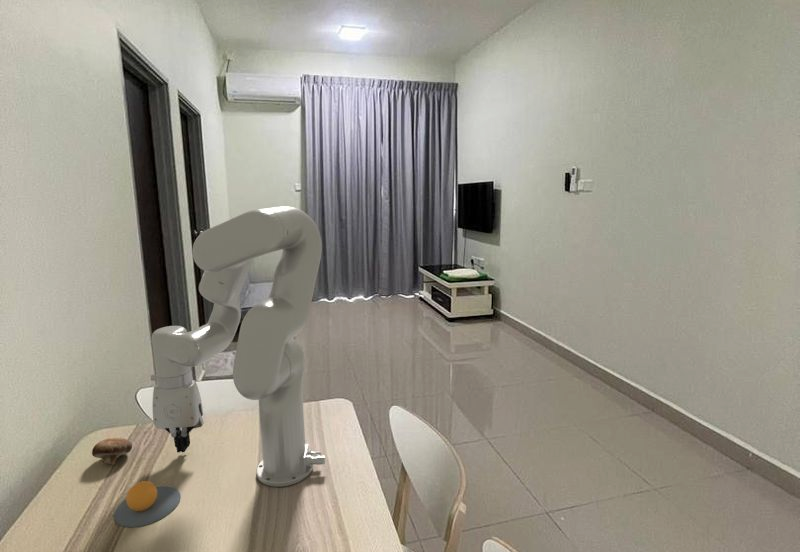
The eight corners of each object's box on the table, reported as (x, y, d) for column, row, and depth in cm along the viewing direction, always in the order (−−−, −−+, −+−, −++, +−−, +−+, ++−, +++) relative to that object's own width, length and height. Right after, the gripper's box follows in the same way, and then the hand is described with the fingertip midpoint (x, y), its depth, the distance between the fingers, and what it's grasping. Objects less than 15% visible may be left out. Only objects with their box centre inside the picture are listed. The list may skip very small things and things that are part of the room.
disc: (189, 485, 100) (189, 484, 100) (165, 525, 88) (165, 524, 88) (133, 487, 99) (133, 487, 99) (101, 528, 87) (100, 527, 87)
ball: (161, 475, 95) (147, 488, 90) (163, 501, 95) (149, 515, 90) (135, 477, 95) (119, 490, 90) (137, 503, 95) (121, 517, 90)
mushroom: (108, 463, 103) (108, 434, 105) (82, 471, 105) (84, 443, 107) (139, 461, 110) (139, 434, 112) (114, 468, 112) (115, 442, 114)
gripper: (134, 386, 103) (144, 459, 107) (201, 384, 104) (209, 456, 108) (149, 373, 110) (158, 441, 114) (212, 371, 111) (219, 439, 115)
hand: (183, 449), depth 111 cm, fingers closed
